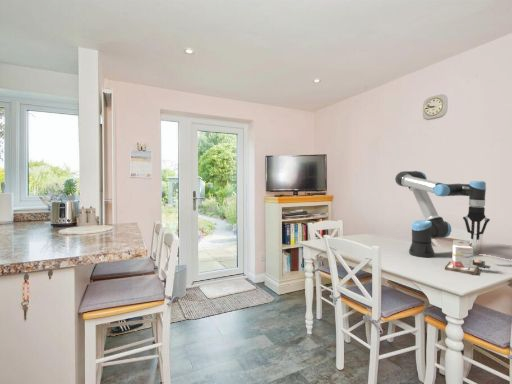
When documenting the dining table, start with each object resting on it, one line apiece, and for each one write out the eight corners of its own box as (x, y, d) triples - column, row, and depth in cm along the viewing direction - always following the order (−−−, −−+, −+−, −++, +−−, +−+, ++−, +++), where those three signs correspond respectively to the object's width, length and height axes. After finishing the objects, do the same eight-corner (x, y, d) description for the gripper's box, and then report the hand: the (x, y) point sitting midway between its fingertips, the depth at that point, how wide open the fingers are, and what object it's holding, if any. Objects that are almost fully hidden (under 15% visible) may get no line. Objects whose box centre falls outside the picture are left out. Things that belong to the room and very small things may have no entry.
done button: (473, 263, 160) (473, 260, 160) (474, 262, 163) (474, 259, 162) (481, 265, 157) (481, 261, 157) (482, 263, 160) (482, 260, 160)
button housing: (471, 265, 160) (471, 261, 160) (472, 263, 164) (472, 259, 164) (484, 267, 156) (484, 263, 156) (485, 265, 160) (485, 261, 160)
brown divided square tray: (444, 269, 154) (444, 266, 154) (449, 263, 164) (449, 261, 164) (476, 275, 144) (476, 272, 144) (479, 268, 155) (479, 265, 154)
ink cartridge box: (455, 266, 153) (455, 241, 153) (452, 264, 158) (452, 239, 157) (473, 268, 150) (473, 242, 150) (469, 265, 155) (469, 240, 154)
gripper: (462, 206, 164) (460, 243, 166) (490, 208, 155) (488, 247, 156) (464, 205, 169) (462, 241, 171) (491, 206, 160) (489, 245, 161)
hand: (474, 244), depth 163 cm, fingers closed
